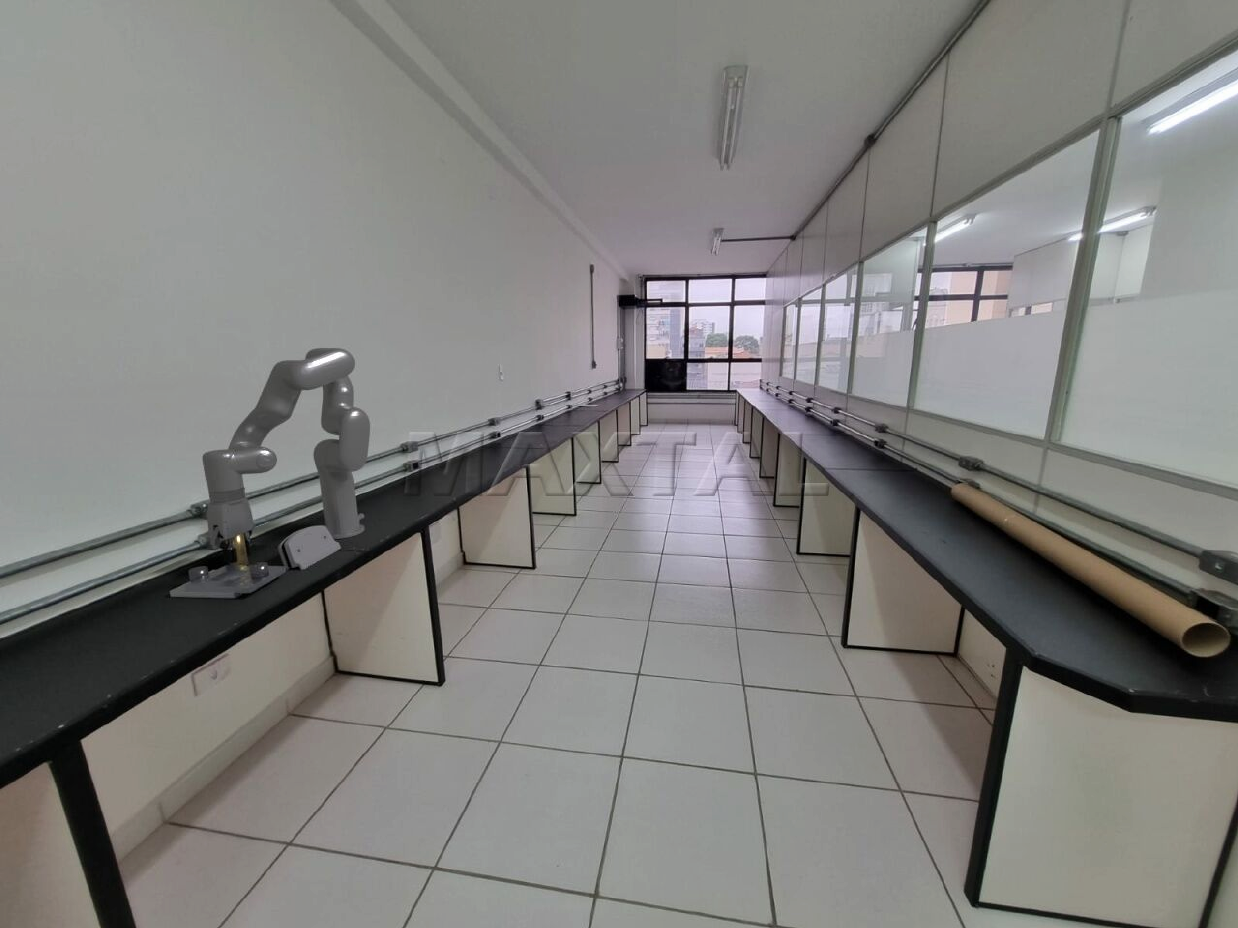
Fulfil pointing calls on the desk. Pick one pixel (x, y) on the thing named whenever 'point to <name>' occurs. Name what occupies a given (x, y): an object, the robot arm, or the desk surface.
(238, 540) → the pin
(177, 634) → the desk surface
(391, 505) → the desk surface
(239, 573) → the knobbed base plate
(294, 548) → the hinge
